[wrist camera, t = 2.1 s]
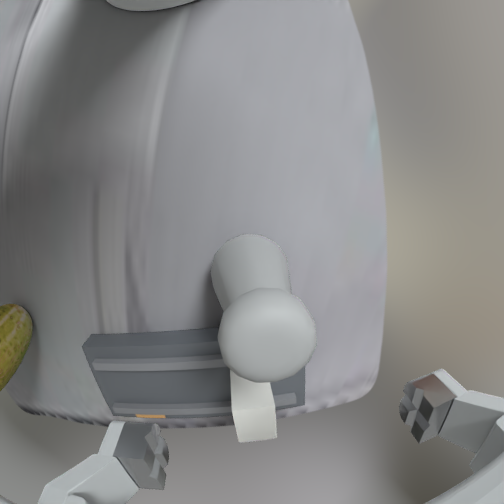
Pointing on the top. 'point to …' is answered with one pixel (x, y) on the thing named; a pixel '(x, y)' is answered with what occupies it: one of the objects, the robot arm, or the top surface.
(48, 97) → the top surface
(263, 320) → the salt shaker
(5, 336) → the vegetable
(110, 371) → the switch plate
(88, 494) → the robot arm
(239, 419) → the slider knob
